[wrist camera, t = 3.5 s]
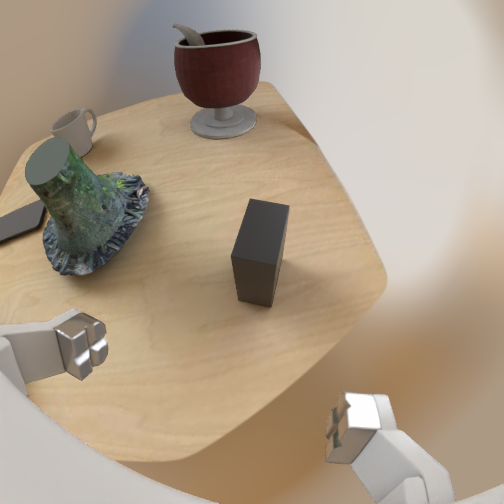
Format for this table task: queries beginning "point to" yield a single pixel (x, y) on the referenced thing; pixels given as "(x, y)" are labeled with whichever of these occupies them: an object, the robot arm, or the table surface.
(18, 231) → the smartphone
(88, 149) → the cup
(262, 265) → the case
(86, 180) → the tree stump
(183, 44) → the mate gourd
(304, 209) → the table surface
